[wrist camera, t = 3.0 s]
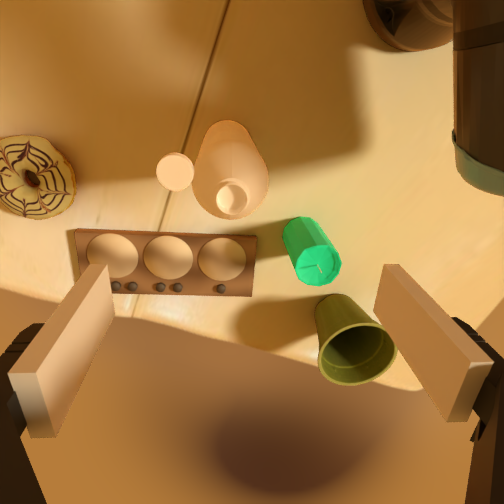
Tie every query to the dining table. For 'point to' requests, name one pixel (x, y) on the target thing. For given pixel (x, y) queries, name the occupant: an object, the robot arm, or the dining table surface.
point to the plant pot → (351, 342)
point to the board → (170, 261)
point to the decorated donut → (47, 170)
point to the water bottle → (220, 172)
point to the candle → (311, 252)
